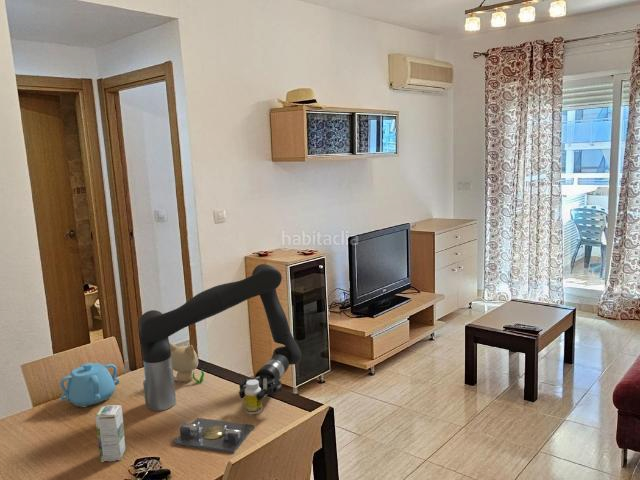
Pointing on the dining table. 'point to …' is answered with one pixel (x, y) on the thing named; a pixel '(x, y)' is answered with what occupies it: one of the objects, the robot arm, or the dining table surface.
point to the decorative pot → (89, 384)
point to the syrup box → (110, 433)
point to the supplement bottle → (252, 397)
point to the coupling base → (213, 435)
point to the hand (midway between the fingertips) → (249, 396)
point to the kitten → (184, 363)
